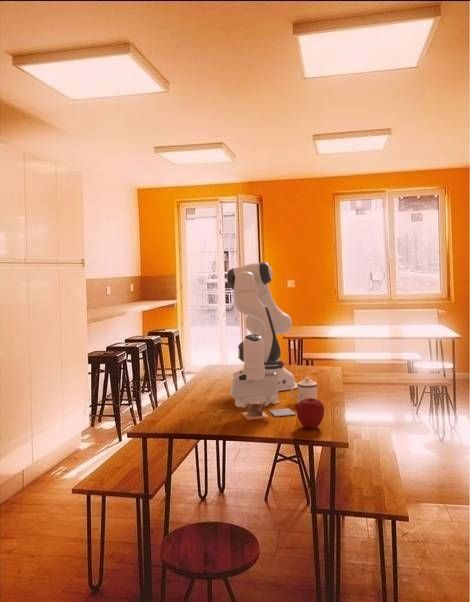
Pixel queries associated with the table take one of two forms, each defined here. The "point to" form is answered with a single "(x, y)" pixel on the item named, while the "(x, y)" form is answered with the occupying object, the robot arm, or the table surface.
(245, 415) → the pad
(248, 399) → the screen
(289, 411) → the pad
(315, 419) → the apple
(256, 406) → the cube with pink top
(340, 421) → the table surface
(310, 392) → the teacup with lid
